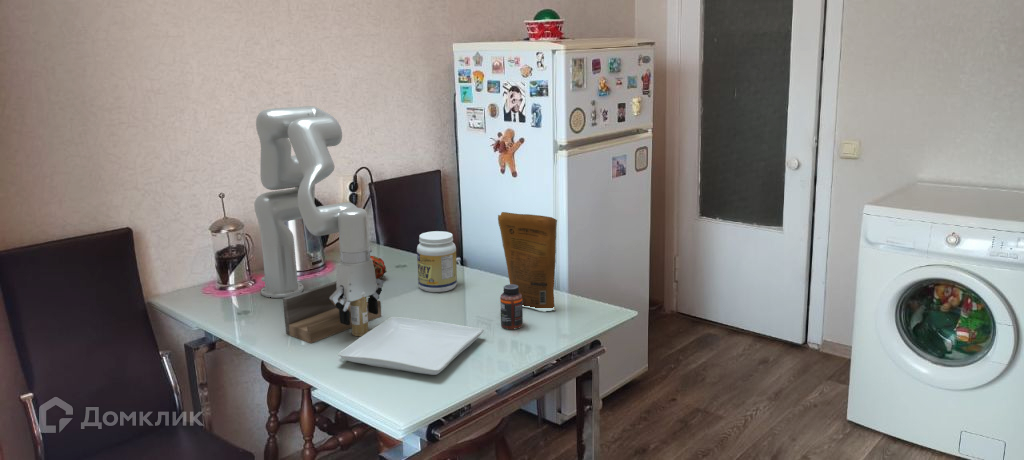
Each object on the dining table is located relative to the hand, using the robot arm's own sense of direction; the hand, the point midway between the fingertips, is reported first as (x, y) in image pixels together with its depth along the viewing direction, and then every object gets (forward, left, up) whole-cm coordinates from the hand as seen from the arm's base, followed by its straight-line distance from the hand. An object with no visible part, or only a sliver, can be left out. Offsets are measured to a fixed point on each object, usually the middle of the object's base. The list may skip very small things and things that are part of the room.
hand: (359, 318), depth 193 cm
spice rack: (-10, 0, -4) cm, 11 cm away
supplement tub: (-10, +40, -4) cm, 41 cm away
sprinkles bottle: (0, 0, -4) cm, 4 cm away
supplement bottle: (+29, +28, -4) cm, 41 cm away
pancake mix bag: (+24, +43, -4) cm, 49 cm away
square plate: (+20, 0, -5) cm, 21 cm away
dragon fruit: (-33, +33, -5) cm, 47 cm away
